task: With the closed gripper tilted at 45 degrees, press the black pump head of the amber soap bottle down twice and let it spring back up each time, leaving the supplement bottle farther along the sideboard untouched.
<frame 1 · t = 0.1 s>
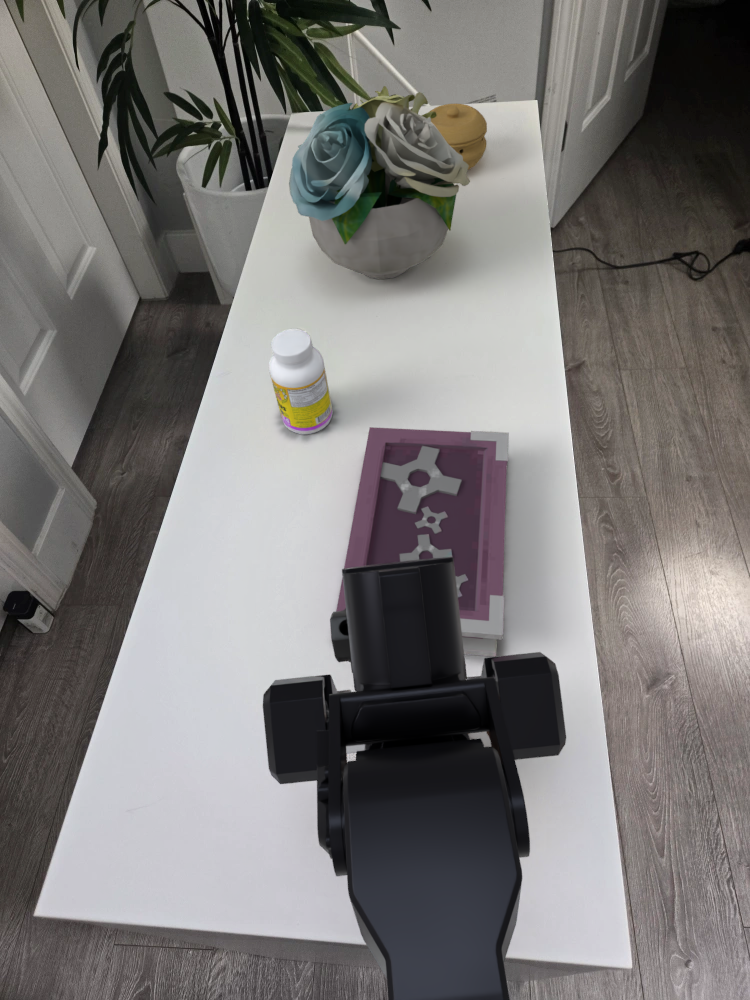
hand: (409, 690, 54), 15 cm above the table, tool tilted 35°, fingers open, 9 cm apart
supplement bottle: (308, 418, 92), on the table
book: (429, 545, 79), on the table
flower arrangement: (384, 264, 110), on the table
soap bottle: (429, 751, 66), on the table
pump head: (427, 709, 58), point 9 cm above the table, slide at 0.1 cm
pot: (451, 166, 126), on the table
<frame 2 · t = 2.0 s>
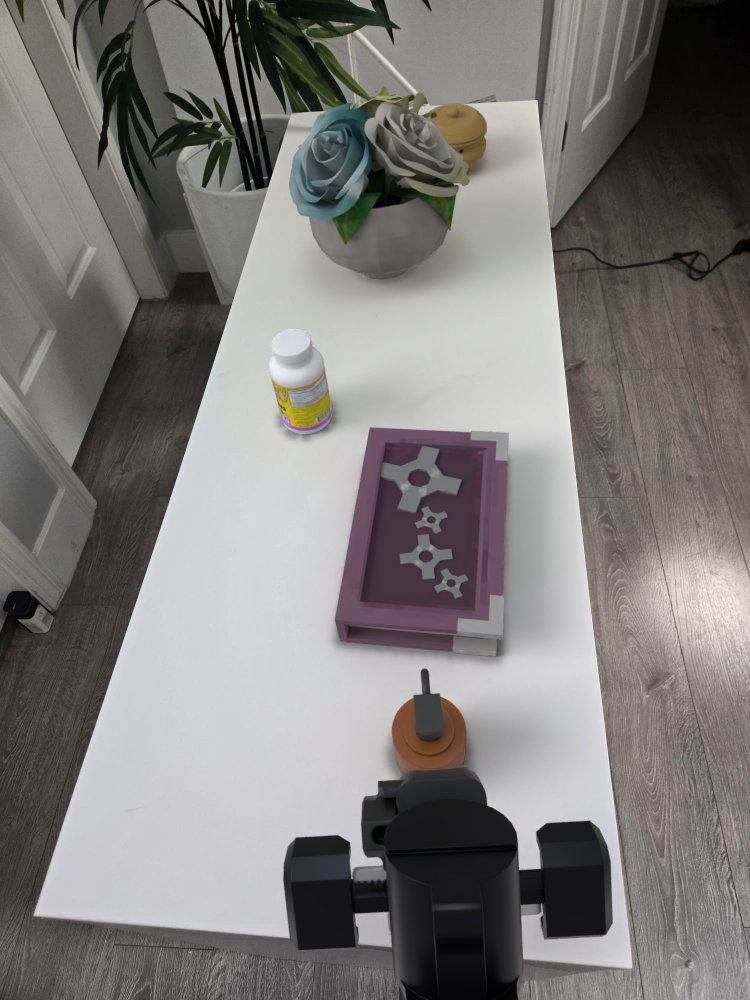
hand: (437, 805, 50), 14 cm above the table, tool tilted 45°, fingers closed
nothing on the table moved.
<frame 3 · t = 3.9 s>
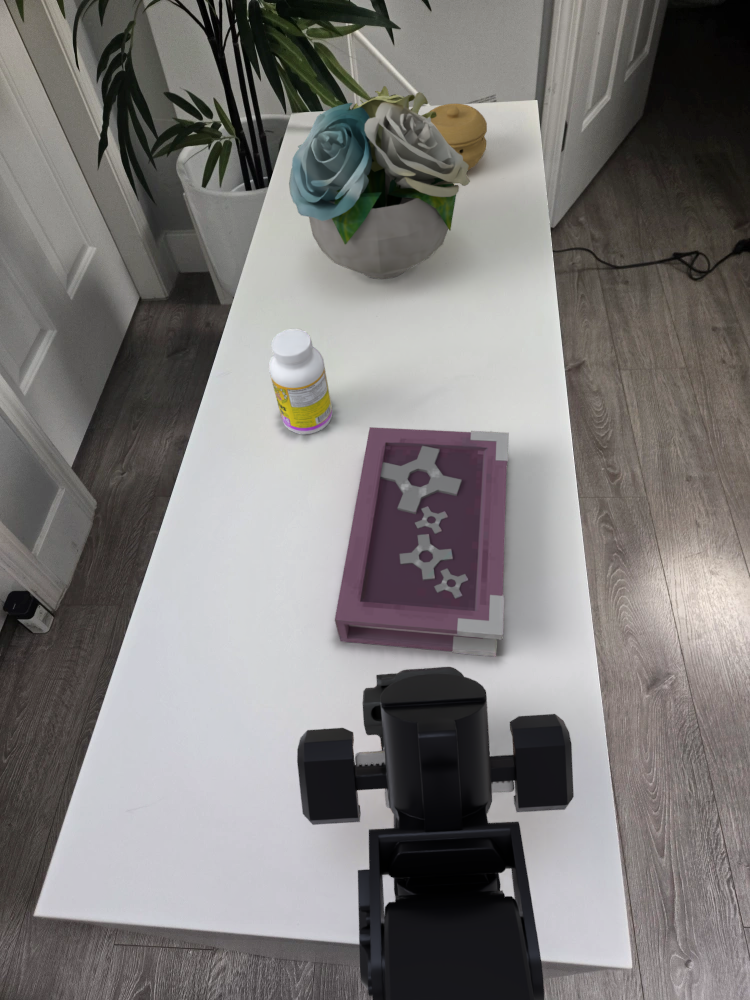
hand: (428, 715, 58), 10 cm above the table, tool tilted 45°, fingers closed, pressing on pump head
pump head: (427, 714, 59), point 8 cm above the table, slide at -1.0 cm, touching gripper
everything else where it was.
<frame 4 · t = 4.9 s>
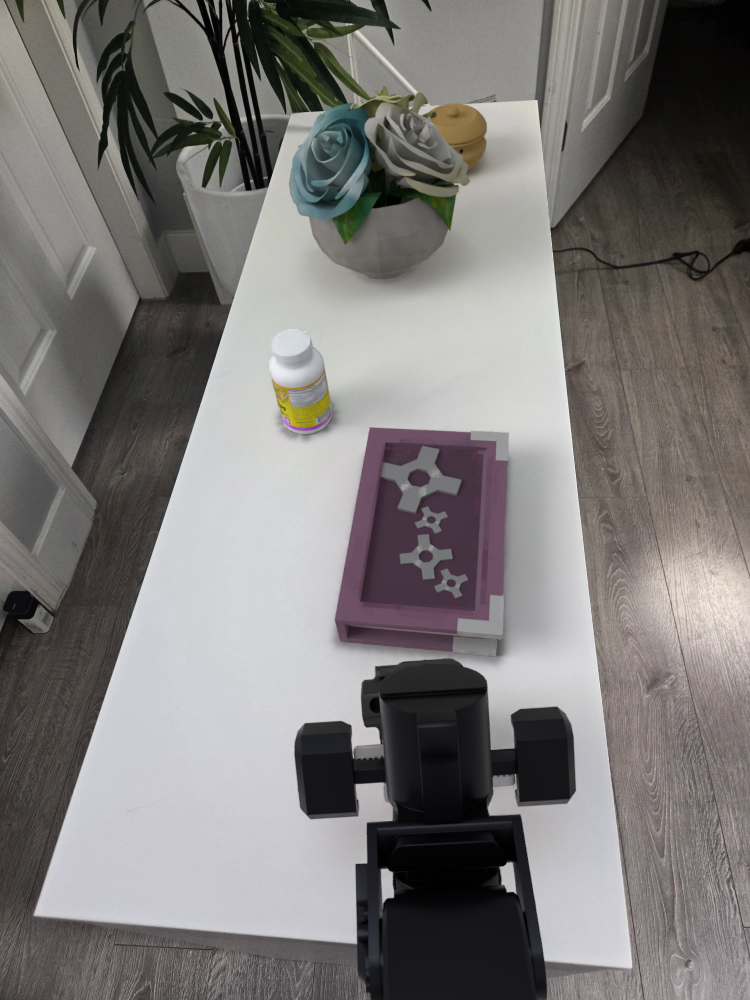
hand: (428, 709, 57), 11 cm above the table, tool tilted 45°, fingers closed
pump head: (427, 709, 58), point 9 cm above the table, slide at 0.1 cm
everything else where it was.
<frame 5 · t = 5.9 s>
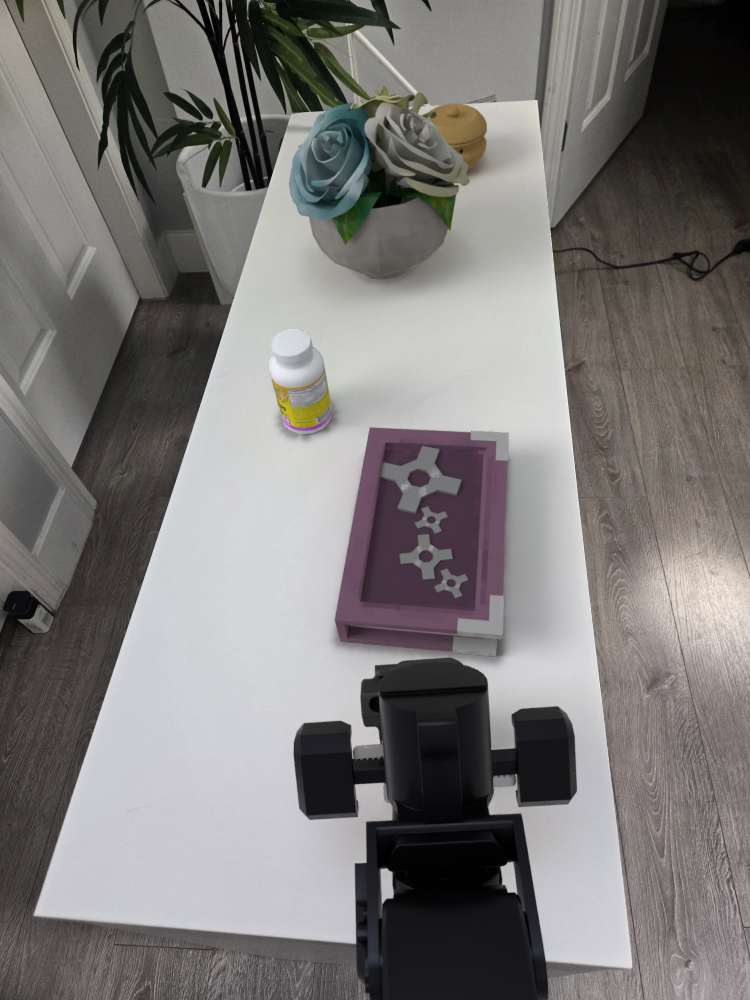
hand: (428, 709, 57), 11 cm above the table, tool tilted 45°, fingers closed
nothing on the table moved.
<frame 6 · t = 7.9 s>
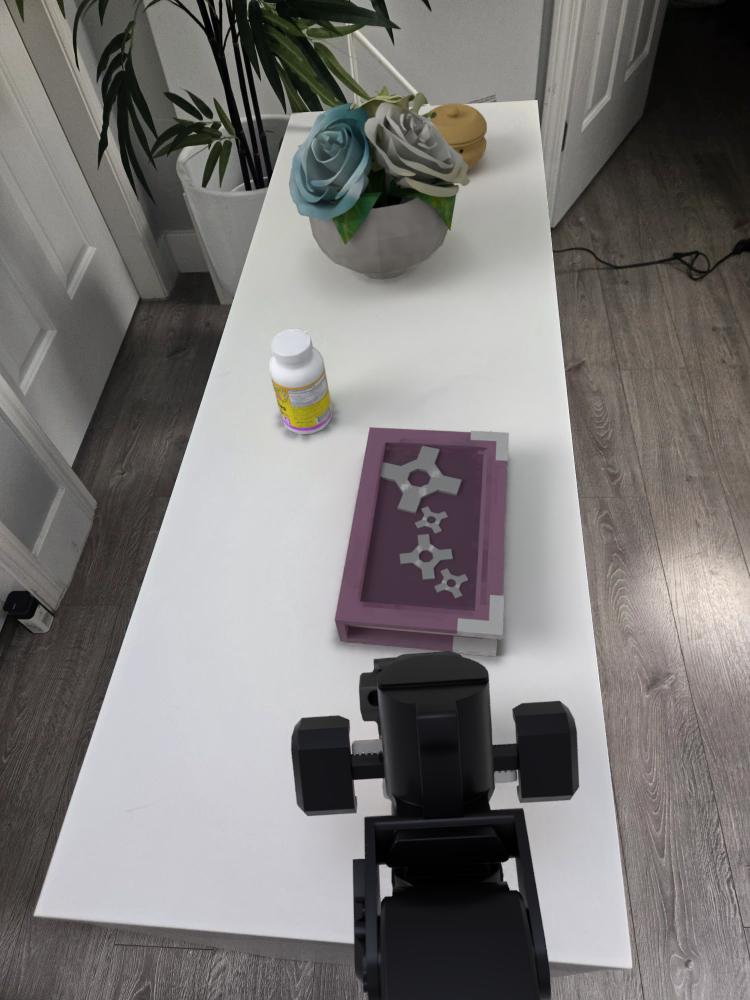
hand: (427, 704, 56), 12 cm above the table, tool tilted 45°, fingers closed
nothing on the table moved.
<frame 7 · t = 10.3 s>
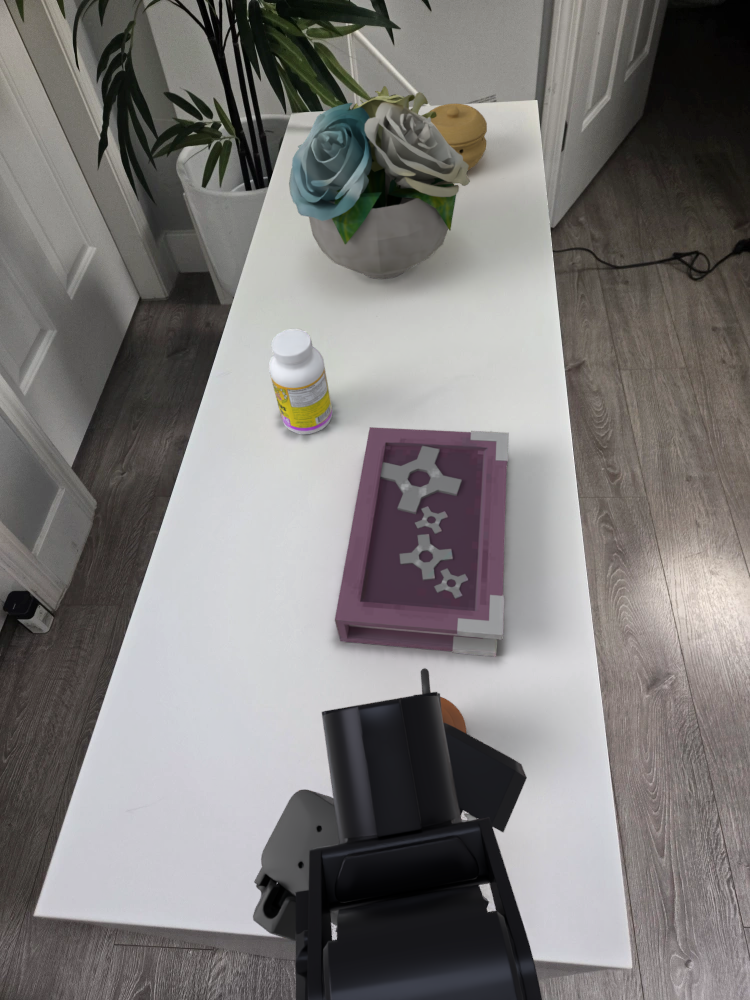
hand: (409, 872, 48), 13 cm above the table, tool tilted 15°, fingers closed
nothing on the table moved.
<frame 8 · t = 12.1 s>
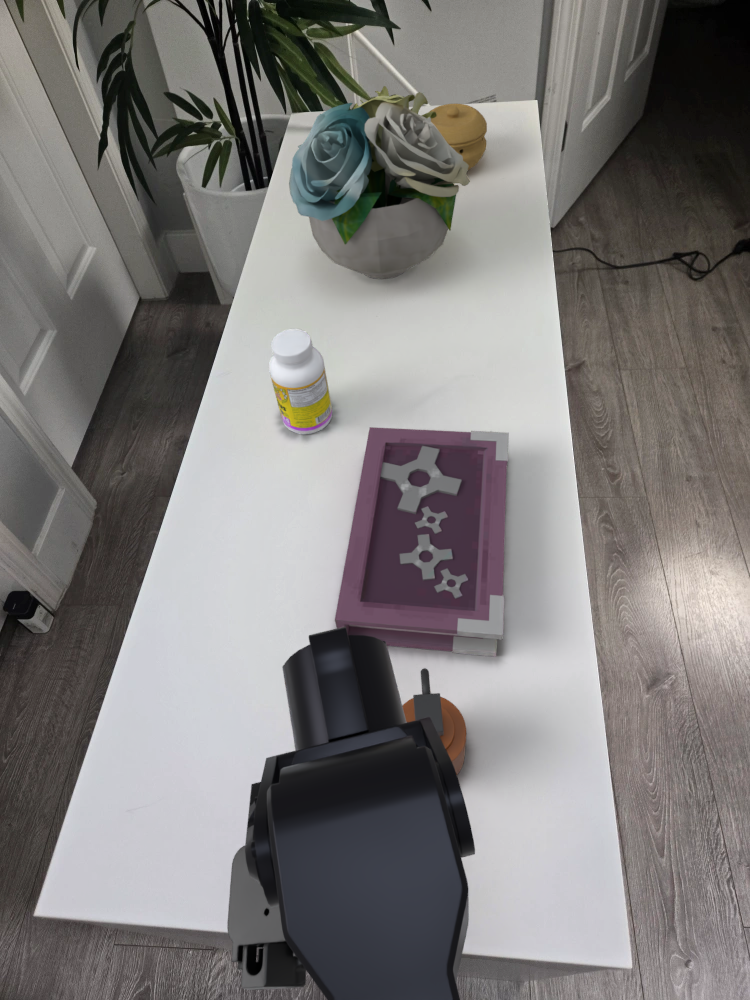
hand: (397, 911, 47), 13 cm above the table, tool pointing down, fingers closed
nothing on the table moved.
at the end: pump head pushed in 1.1 cm at the most during the clip, back to where it started at the end; pump head slide at 0.1 cm; supplement bottle moved 0.2 cm from its start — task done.
